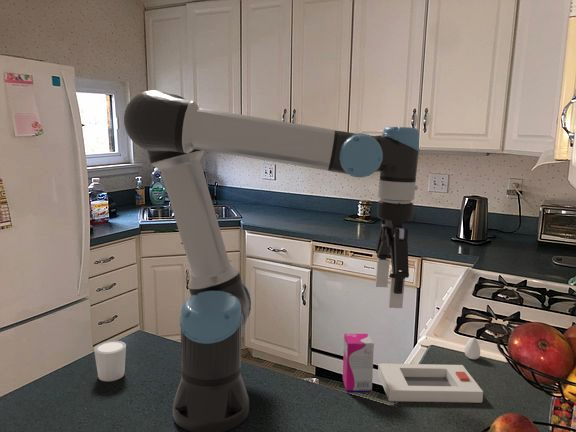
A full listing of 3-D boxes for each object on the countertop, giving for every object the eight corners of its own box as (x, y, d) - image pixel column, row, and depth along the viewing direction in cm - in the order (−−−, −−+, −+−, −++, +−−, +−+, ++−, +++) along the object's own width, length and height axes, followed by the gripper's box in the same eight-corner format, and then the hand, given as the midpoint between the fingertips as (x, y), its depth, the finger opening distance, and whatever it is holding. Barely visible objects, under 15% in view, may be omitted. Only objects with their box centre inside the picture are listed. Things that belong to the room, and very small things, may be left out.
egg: (474, 354, 125) (476, 334, 124) (482, 361, 121) (484, 340, 120) (461, 355, 124) (463, 335, 123) (468, 361, 121) (470, 341, 120)
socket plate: (388, 401, 102) (389, 387, 101) (377, 373, 113) (378, 361, 113) (482, 402, 102) (483, 389, 101) (461, 374, 114) (462, 362, 113)
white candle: (133, 371, 112) (132, 343, 110) (112, 385, 105) (111, 355, 104) (110, 365, 114) (109, 338, 113) (88, 378, 108) (87, 349, 107)
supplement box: (366, 379, 110) (369, 332, 109) (372, 393, 105) (374, 344, 103) (341, 379, 110) (344, 332, 108) (345, 393, 104) (348, 343, 103)
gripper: (431, 210, 89) (421, 318, 93) (398, 194, 114) (391, 279, 117) (392, 209, 89) (383, 317, 93) (367, 192, 114) (361, 278, 117)
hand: (387, 296), depth 105 cm, fingers open, 13 cm apart
